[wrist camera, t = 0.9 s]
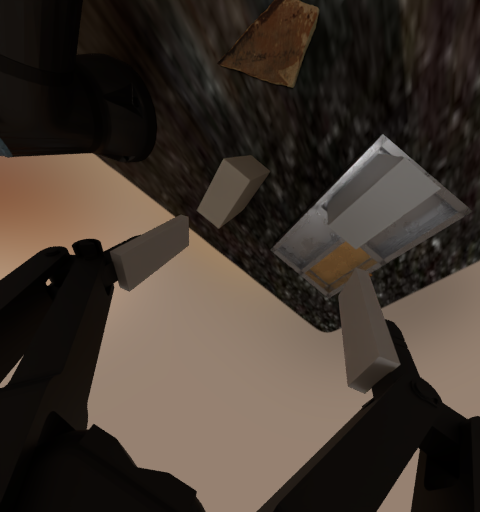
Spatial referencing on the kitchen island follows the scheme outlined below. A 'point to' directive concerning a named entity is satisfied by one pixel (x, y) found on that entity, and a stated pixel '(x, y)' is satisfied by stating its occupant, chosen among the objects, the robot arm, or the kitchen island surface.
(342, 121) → the kitchen island surface
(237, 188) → the grey beige block
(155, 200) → the kitchen island surface
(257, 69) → the shard
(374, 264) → the grey divided tray
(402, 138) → the kitchen island surface
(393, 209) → the grey rectangular block
